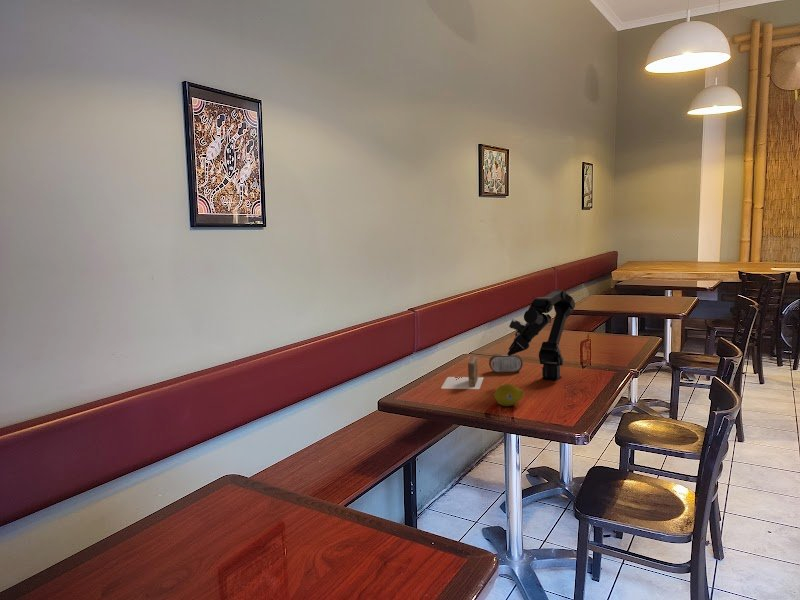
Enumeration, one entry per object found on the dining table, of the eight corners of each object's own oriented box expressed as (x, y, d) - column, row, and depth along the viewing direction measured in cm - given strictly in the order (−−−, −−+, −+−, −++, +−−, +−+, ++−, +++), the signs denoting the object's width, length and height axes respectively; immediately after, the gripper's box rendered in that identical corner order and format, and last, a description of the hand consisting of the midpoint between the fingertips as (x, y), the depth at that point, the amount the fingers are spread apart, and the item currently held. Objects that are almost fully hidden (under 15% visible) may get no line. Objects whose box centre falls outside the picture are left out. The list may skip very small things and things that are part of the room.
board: (477, 379, 251) (477, 356, 250) (474, 386, 239) (473, 363, 238) (472, 379, 252) (471, 356, 250) (468, 386, 240) (467, 363, 239)
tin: (522, 371, 262) (522, 352, 261) (523, 372, 259) (522, 354, 258) (489, 371, 264) (488, 353, 263) (489, 373, 260) (488, 355, 259)
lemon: (492, 408, 212) (491, 387, 211) (495, 401, 219) (494, 381, 218) (522, 409, 209) (521, 388, 208) (524, 403, 216) (523, 382, 215)
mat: (483, 378, 253) (483, 377, 253) (479, 389, 236) (479, 389, 236) (447, 377, 257) (447, 376, 257) (440, 389, 240) (440, 388, 240)
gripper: (521, 309, 246) (496, 334, 250) (519, 316, 228) (492, 343, 232) (540, 327, 245) (515, 352, 249) (540, 335, 227) (512, 363, 231)
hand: (508, 352), depth 240 cm, fingers open, 9 cm apart
